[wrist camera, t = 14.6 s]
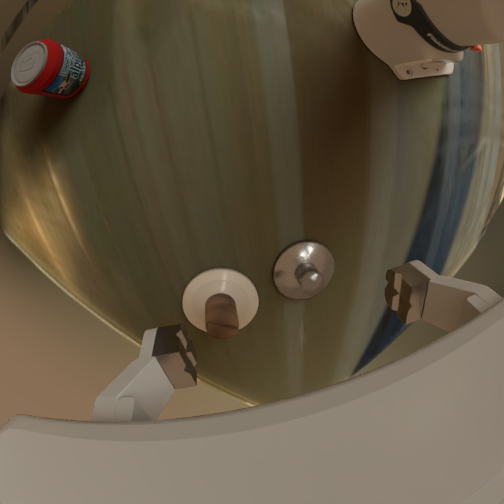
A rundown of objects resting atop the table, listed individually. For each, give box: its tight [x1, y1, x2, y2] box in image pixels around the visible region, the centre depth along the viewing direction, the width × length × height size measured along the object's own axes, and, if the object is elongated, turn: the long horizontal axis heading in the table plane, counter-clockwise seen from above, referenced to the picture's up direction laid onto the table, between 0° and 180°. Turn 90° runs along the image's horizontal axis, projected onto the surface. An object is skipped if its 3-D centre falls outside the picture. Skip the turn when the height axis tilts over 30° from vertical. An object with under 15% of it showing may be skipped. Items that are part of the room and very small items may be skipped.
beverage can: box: [11, 39, 90, 98], centre depth 21 cm, size 7×7×12 cm
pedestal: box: [273, 240, 334, 299], centre depth 41 cm, size 10×10×5 cm
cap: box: [205, 293, 239, 339], centre depth 40 cm, size 5×5×6 cm
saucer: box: [183, 267, 259, 332], centre depth 43 cm, size 12×12×1 cm
